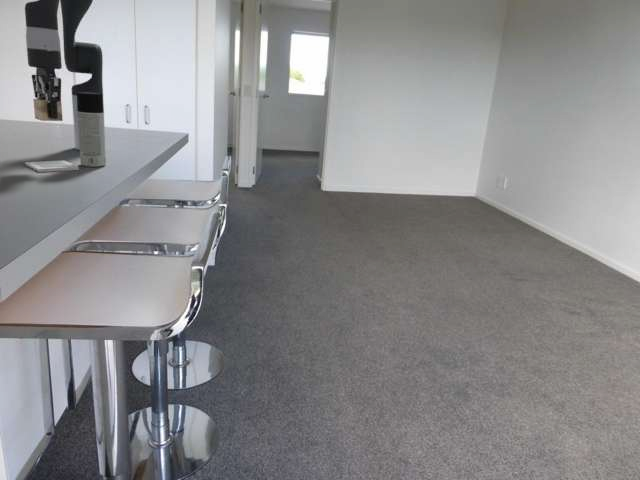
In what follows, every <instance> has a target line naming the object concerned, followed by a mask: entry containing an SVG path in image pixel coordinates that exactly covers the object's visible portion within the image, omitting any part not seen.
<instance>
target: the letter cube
mask: <svg viewBox="0 0 640 480" xmlns="http://www.w3.org/2000/svg"><path fill="white" fill-rule="evenodd" d="M47 104H49V103H47V101H46V99H37V98H33V109H34V110H33V111H34V119H36V120H38V121H43V122H45V121H46V122H47V121H49V122H62V121H63V109H62V108H63V107H62V101H61V102H58V104H57V112H58V118H57V119H50V118H48V111H47Z"/></svg>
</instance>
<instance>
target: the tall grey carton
mask: <svg viewBox="0 0 640 480" xmlns="http://www.w3.org/2000/svg"><path fill="white" fill-rule="evenodd" d="M103 103H104V94H103V95H102V94H101V93H93V92H77V112H78V128H79V145H80V150H79V156H80V157H79V160H80V166H82V167H89V168H100V167H105V166H106V163H107V161H106V159H107V157H106V133H104V125H105V109H104V110H103Z"/></svg>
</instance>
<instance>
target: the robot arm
mask: <svg viewBox="0 0 640 480" xmlns="http://www.w3.org/2000/svg"><path fill="white" fill-rule="evenodd" d="M93 1H94V0H34V1H29V2H27V3H25V5H24V14H25V26H26V27H25V28H26V29H25V30H26V31H25V41H26V43H25V44H26V53H27V54H26V55H27V65H28V67H30V68H36V71H35V74H31V79H32V87H33V92H34V93H33V94H34V99H46V101H47V103H49V104H47V111H48V118H50V119H57V118H58V112H57V104H58V102H61V103H62V79H61V77H57V75H56V71H55V70H60V69H62V68H63V67H62V64H63V63H62V52H61V51H62V50H61V39H60V34H59V22H58V11H59V4H60V9H61V16H62V17H61V18H62V19H61V20H62V39H63V55H64V57H63V59H64V65H65V68H66V70H67V71H68V72H69V73H76V74H77V73H78V74H88V75H91V77H90V79H88V80H86V81H84V82H81V83H78V84H74V85H72V86H71V102H72V103H71V104H72V117H73V118H72V120H73V132H74V133H73V134H74V135H73V136H74V137H73V138H74V149H75V150H78V151H80V145H79V128H78V112H77V92H93V93H101V94H102V95H103V96H104V89H103V85H104V84H103V63H104V62H103V50H102V47H101V46H100V45H99V44H97V43H90V42H81V41H80V42H79V41H76V40H75V39H76V32H77V30H78V28H79V25H80V24H81V22H82V20H83V18H84V16H86V14H87V12H88V11H89V9H90V7H91V5H92V4H93ZM103 110H104V111H105V107H104V102H103ZM105 127H106V126H105V124H104V133H105V132H106V131H105ZM105 134H106V133H105Z"/></svg>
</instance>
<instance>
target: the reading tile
mask: <svg viewBox="0 0 640 480" xmlns="http://www.w3.org/2000/svg"><path fill="white" fill-rule="evenodd" d="M26 165H27V166H26ZM25 166H26V167H28V166H29V168H30V167H31V168H30V169H32V168H33V169H32V170H33V171H35V170H36V172H37V171H38V172H37V173H49V172H51V173H52V172H65V171H66V172H67V171H79V170H80V168H79V165H76V164H73V163H71V162H69V161H66V160H48V161H47V160H46V161H25Z"/></svg>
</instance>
